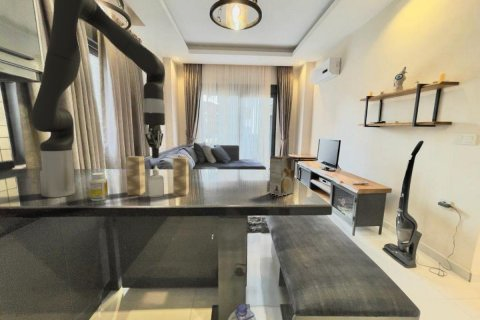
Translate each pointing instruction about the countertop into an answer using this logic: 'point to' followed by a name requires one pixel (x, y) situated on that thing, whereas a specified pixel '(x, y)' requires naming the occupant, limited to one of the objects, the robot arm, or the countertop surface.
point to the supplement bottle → (98, 187)
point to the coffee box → (282, 175)
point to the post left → (135, 175)
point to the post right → (180, 176)
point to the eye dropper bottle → (156, 184)
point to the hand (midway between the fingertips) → (155, 157)
